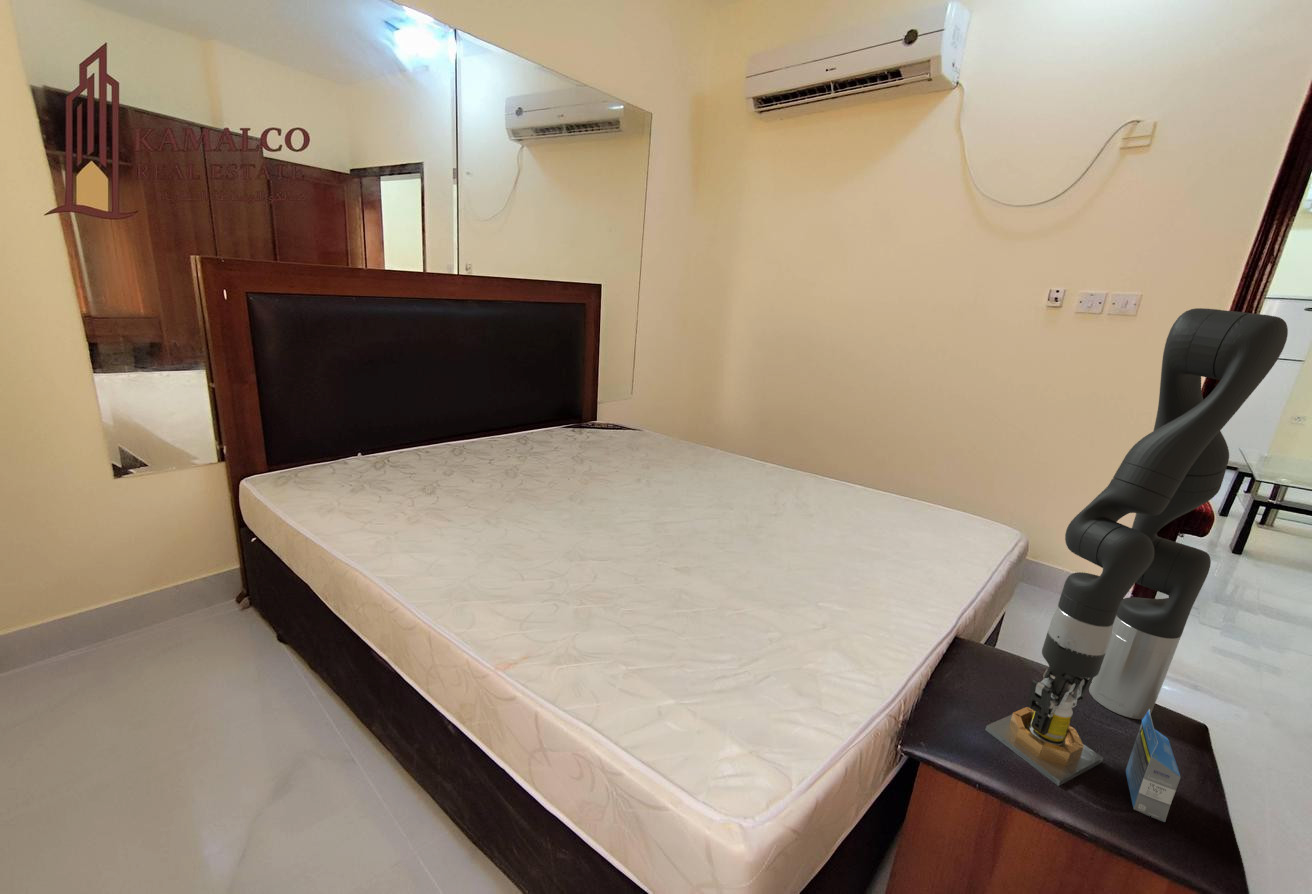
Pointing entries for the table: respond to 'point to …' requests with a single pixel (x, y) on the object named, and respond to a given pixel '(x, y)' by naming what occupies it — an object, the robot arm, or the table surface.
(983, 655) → the table surface
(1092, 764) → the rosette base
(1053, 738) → the supplement bottle
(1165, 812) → the label tape box
